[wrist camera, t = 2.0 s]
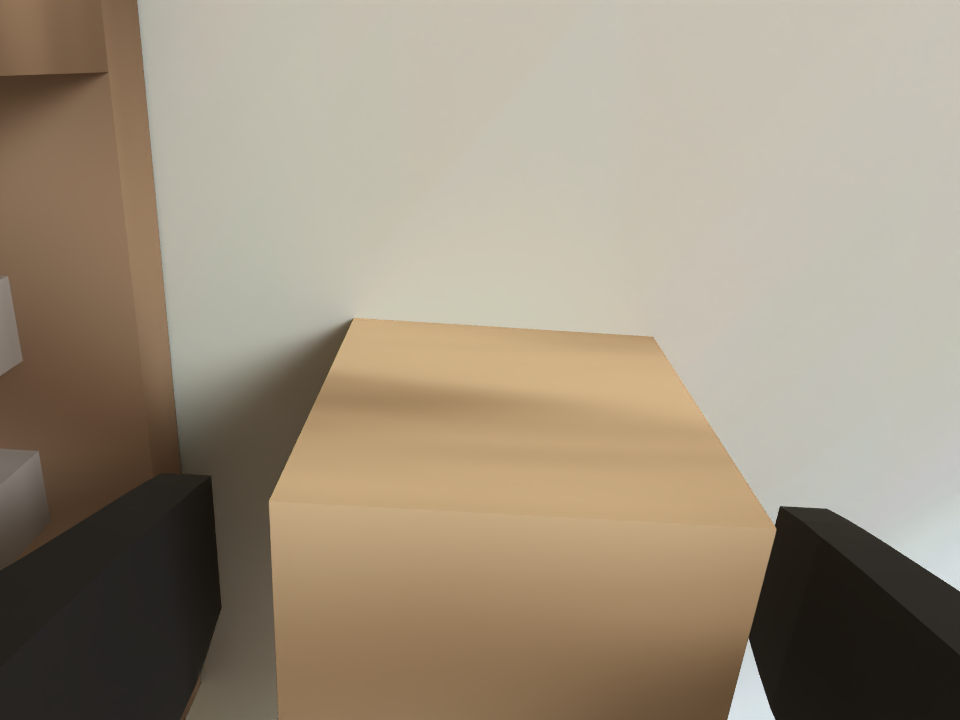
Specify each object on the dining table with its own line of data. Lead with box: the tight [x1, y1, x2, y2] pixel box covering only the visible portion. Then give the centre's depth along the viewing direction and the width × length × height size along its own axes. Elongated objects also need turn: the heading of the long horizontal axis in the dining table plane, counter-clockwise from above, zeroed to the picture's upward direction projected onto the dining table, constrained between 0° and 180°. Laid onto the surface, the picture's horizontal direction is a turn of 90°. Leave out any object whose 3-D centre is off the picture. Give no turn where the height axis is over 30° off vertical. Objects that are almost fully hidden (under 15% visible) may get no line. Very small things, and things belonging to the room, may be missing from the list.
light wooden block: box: [269, 318, 777, 720], centre depth 10 cm, size 4×4×5 cm
